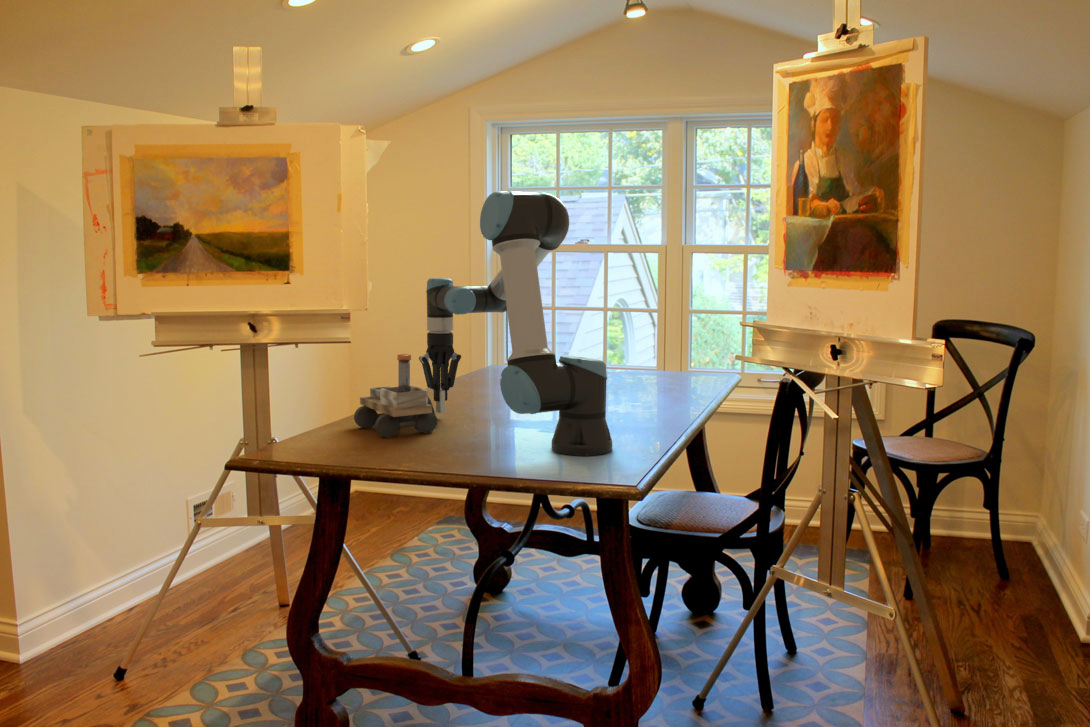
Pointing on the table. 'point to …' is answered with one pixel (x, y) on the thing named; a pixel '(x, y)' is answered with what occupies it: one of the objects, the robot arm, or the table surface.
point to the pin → (403, 372)
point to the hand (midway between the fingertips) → (440, 412)
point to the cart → (395, 410)
